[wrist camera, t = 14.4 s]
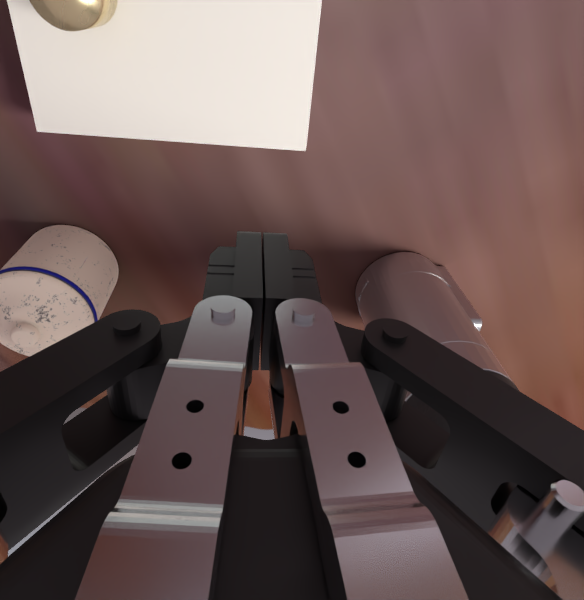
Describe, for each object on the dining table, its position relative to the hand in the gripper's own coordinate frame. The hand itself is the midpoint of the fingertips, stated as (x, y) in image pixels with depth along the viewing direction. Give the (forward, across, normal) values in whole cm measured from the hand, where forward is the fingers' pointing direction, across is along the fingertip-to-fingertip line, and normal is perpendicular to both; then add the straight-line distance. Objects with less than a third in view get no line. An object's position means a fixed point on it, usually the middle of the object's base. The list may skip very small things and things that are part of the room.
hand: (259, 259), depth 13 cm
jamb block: (+27, +6, -2) cm, 28 cm away
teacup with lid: (+27, +17, +18) cm, 37 cm away
